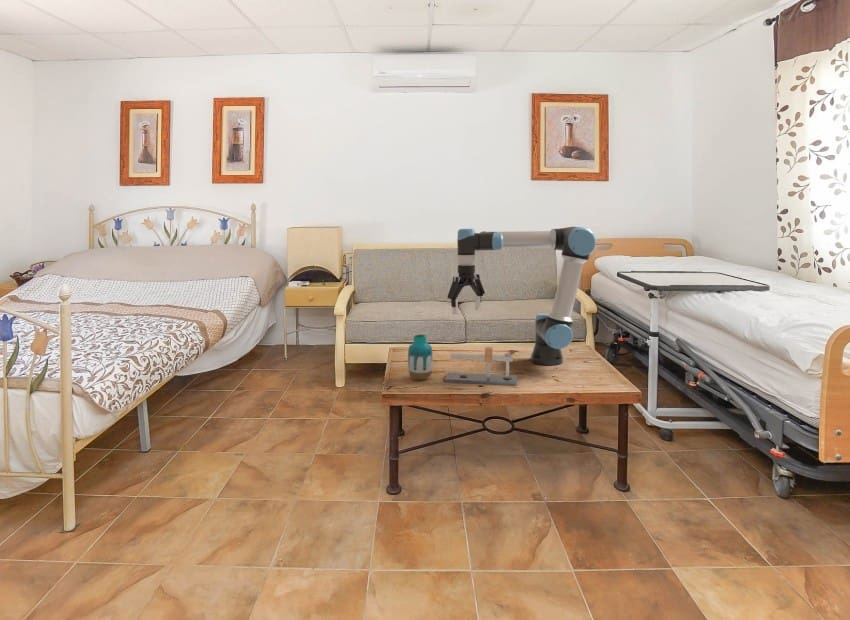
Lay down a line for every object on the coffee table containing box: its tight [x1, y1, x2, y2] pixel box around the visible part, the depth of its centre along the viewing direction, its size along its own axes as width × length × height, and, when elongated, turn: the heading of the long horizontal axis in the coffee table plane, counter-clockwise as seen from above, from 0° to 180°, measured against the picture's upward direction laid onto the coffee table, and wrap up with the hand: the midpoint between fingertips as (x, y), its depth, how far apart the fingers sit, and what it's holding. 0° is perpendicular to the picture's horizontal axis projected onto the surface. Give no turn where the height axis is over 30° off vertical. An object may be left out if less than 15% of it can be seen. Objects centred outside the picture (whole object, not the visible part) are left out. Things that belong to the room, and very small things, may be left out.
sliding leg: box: [484, 346, 494, 377], centre depth 224 cm, size 3×4×12 cm
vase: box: [407, 333, 434, 381], centre depth 226 cm, size 11×11×19 cm
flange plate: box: [444, 371, 518, 386], centre depth 225 cm, size 30×10×1 cm, turn 80°
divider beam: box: [450, 352, 514, 379], centre depth 224 cm, size 26×3×11 cm, turn 80°
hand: (466, 312), depth 234 cm, fingers open, 13 cm apart
